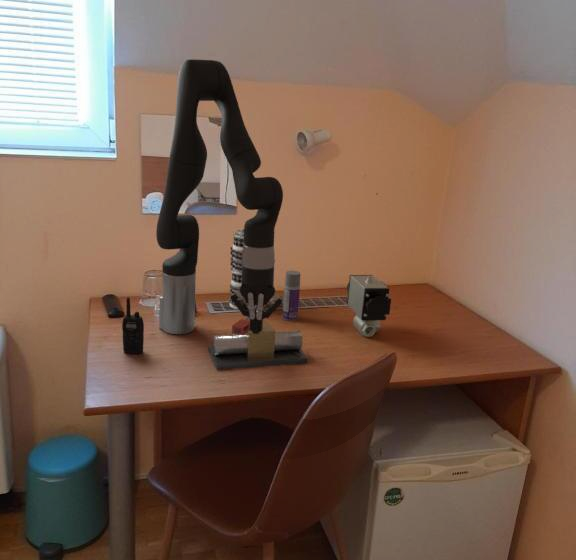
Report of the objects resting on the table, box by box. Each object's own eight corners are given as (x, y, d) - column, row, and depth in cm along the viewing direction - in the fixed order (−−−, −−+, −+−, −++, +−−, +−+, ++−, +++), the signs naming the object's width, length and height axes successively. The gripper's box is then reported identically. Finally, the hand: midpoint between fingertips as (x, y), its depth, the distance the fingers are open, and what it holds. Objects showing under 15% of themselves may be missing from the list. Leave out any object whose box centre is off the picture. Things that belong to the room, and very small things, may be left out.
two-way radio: (120, 353, 152) (119, 298, 147) (126, 346, 156) (125, 293, 151) (141, 355, 151) (141, 300, 147) (147, 348, 156) (146, 295, 151)
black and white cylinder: (222, 303, 193) (225, 229, 186) (246, 299, 199) (249, 226, 191) (237, 312, 186) (241, 235, 179) (261, 307, 192) (265, 232, 185)
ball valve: (390, 343, 170) (397, 285, 165) (362, 344, 168) (369, 285, 163) (367, 321, 187) (374, 267, 181) (342, 321, 184) (347, 267, 179)
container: (298, 316, 186) (302, 271, 182) (296, 321, 182) (299, 275, 177) (284, 315, 187) (287, 269, 182) (281, 320, 182) (284, 273, 178)
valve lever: (256, 314, 154) (256, 307, 153) (266, 317, 153) (267, 309, 152) (231, 333, 141) (232, 325, 140) (243, 335, 140) (243, 328, 139)
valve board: (216, 369, 146) (217, 330, 143) (208, 350, 157) (209, 312, 154) (307, 363, 154) (310, 325, 150) (293, 344, 164) (296, 309, 161)
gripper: (226, 265, 134) (225, 335, 139) (283, 270, 133) (280, 341, 138) (234, 257, 141) (232, 324, 146) (288, 261, 140) (285, 329, 145)
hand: (256, 332), depth 142 cm, fingers closed
